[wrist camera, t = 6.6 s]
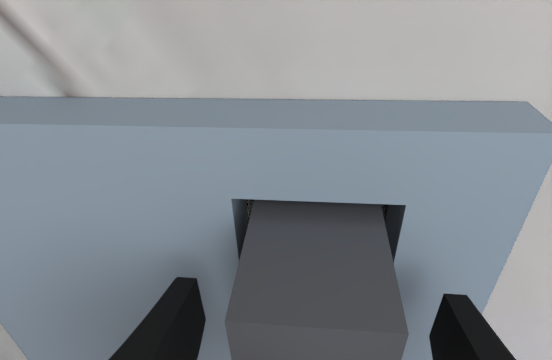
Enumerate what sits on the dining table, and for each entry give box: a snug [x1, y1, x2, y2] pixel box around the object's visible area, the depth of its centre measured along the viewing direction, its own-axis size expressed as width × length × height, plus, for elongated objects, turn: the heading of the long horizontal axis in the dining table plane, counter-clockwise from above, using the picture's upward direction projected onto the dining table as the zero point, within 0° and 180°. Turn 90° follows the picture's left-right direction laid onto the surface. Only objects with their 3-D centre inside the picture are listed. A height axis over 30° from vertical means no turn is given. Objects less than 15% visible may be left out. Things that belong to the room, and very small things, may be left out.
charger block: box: [225, 200, 409, 360], centre depth 12 cm, size 4×4×6 cm
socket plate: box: [0, 97, 552, 360], centre depth 15 cm, size 14×20×2 cm
